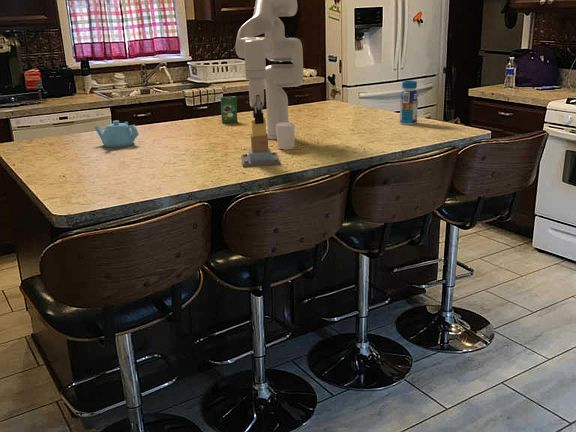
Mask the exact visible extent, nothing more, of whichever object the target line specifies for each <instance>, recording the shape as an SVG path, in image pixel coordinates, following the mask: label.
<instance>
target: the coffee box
mask: <svg viewBox="0 0 576 432" xmlns="http://www.w3.org/2000/svg"><path fill="white" fill-rule="evenodd" d="M237 101H238V100H237V96H236V95H235V96H220V113H221V115H220V116H221V123H222V124H228V123H229V124H230V123H238V106H237V105H238V102H237Z"/></svg>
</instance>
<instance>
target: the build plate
mask: <svg viewBox="0 0 576 432" xmlns="http://www.w3.org/2000/svg"><path fill="white" fill-rule="evenodd" d="M240 158H241V165H242V167H243V168H245V167H246V168H249V167H263V166H281V160H280V158H279V155H278V153H277V152H275V151H271V148H270V147H268V152H256V153H252V148H248V153H243V154H241V155H240Z"/></svg>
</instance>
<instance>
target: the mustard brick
mask: <svg viewBox="0 0 576 432" xmlns="http://www.w3.org/2000/svg"><path fill="white" fill-rule="evenodd" d="M263 118H264V123H263V124H255V118H253V117H251V119H250V121H251V122H250V123H251V134H252V135H253V137H254V136H266V133H267V125H266V124H267V123H266V121H267V119H266V118H265V117H264V116H263Z"/></svg>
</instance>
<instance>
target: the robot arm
mask: <svg viewBox="0 0 576 432" xmlns="http://www.w3.org/2000/svg"><path fill="white" fill-rule="evenodd" d="M253 9H254V10H253V15H252V17H251V18H250V19H248V20H247V21H246V22H245V23H243V24H242V25H241V26H240V28H238V31H237V34H236V40H235V53H236V55H237V56H238V58H240V59H244V67H245V68H244V70H245V71H244V72H245V80H248V97H249V99H248V101H249V106H250V107H251V108H252V116H253V117H252V118H255V124H263V123H264V118H263V117H264V112H263V111H264V110H263V107H264V104H266V121H267V123H266V124H267V125H266V128H267V132H266V133H267V135H268V140H277V135H276V124H277V123H283V122H289V98H288V95H287V93H286V92H285V90H284V89H283V88H290V87H291V88H293V87H295V88H296V87H300V86H302V84H303V83H304V55H303V54H304V52H303V51H304V49H303V45H302V41H301V39H300V38H297V37H286V36H285V24H284V22H283V21H282V20H281V19H280V18H281V17H293V16H295V15H296V14H297V12H298V0H255V2H254V8H253ZM262 34H264V36H260V35H262ZM266 59H267V60H268V61H269V62H291V63H292V64H291V63H290V64H269V65H267V63H266ZM265 101H266V103H265Z"/></svg>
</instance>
